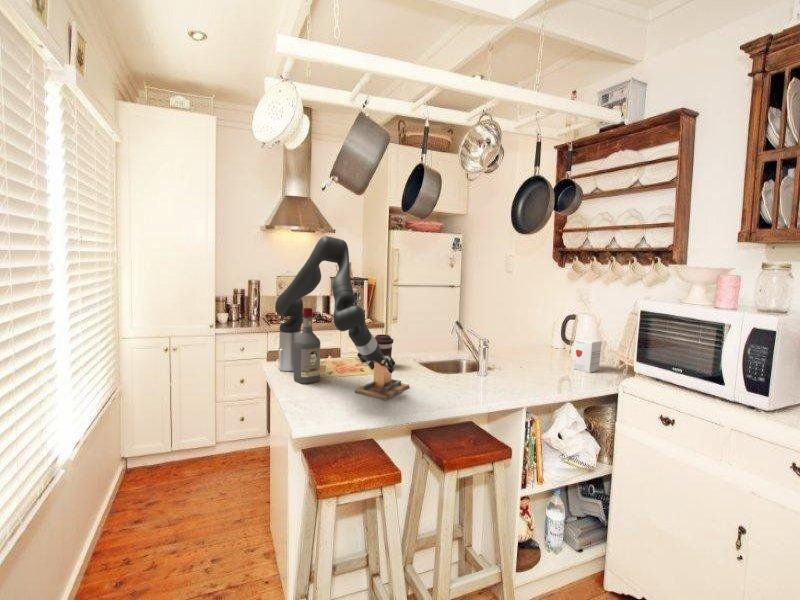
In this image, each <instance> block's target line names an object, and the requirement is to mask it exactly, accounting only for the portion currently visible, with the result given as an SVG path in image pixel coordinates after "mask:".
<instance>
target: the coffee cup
mask: <svg viewBox="0 0 800 600" xmlns="http://www.w3.org/2000/svg"><path fill="white" fill-rule="evenodd" d="M374 338H375V339H376V341H377V343H378V344H379V346H380V348H381V353H382V354H383V355H384V356H387V355H390V356H391V357H392V352H393V351H392V350H393V343H394V338H392V337H391V335H389V334H382V333H380V334H376V335H375V336H374ZM383 360H384V359H383Z"/></svg>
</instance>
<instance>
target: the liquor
mask: <svg viewBox="0 0 800 600" xmlns="http://www.w3.org/2000/svg"><path fill="white" fill-rule="evenodd" d="M302 317H303V318H302V325H303V326H302V329H301V334H300V335H299V336H298V337H297V339H296V340H295V342H294V371H293V380H294V381H295V382H296V383H299V384H300V385H301V384H302V385H309V384H312V383H313V384H314V383H318V381H319V380H320V378H321V340H320V338H319V337H318V336H317V335H316V334H315V333H314V330H313V308H312V307H303V315H302Z"/></svg>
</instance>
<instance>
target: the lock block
mask: <svg viewBox="0 0 800 600" xmlns="http://www.w3.org/2000/svg"><path fill="white" fill-rule="evenodd" d="M383 362H384V360H383V361H382V362H381V363H382V364H383ZM386 365H388V364H387V362H386ZM392 374H393V372H392V373H390V372H389V371H388V369H387V368H386V367H385V366H381V365H379V364H378V363H374V369H373V381H374V386H373V388H376V389H380V390H381V389H383V388H385V387H387V386H389V385H391V379H392V377H393V375H392Z"/></svg>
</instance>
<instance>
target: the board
mask: <svg viewBox="0 0 800 600" xmlns="http://www.w3.org/2000/svg"><path fill="white" fill-rule="evenodd" d="M373 386H374V380H373V381H371V382H369V383H367V384H364V385H363V386H360V387H357V388H356V389H354V393H355V394H358V395H364V396H368V397H372V398H375V397H376V398H377V399H381V400H385V401H387V400H389V399H391V398H392V397H394V396H396V395H398V394H400V393H402V392H403V391H406V390H408V389H409V388H410V384H407V383H403V382H402V380H398V379H394V378H393V379H392V378H391V385H389V386H387V387H385V388H383V389H381V390H380V389H376V388H373Z"/></svg>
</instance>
